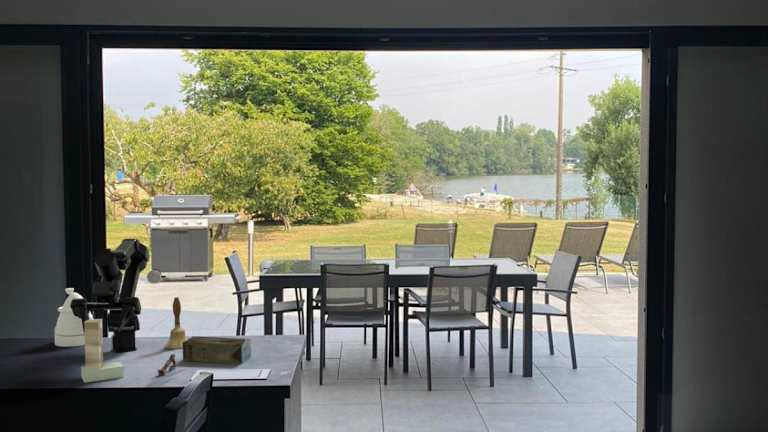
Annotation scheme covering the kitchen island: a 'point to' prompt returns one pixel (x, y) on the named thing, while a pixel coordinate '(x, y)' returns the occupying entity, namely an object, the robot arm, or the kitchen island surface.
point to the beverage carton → (216, 349)
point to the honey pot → (69, 324)
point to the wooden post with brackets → (168, 362)
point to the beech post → (93, 344)
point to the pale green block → (103, 372)
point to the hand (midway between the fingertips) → (101, 331)
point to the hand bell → (176, 328)
